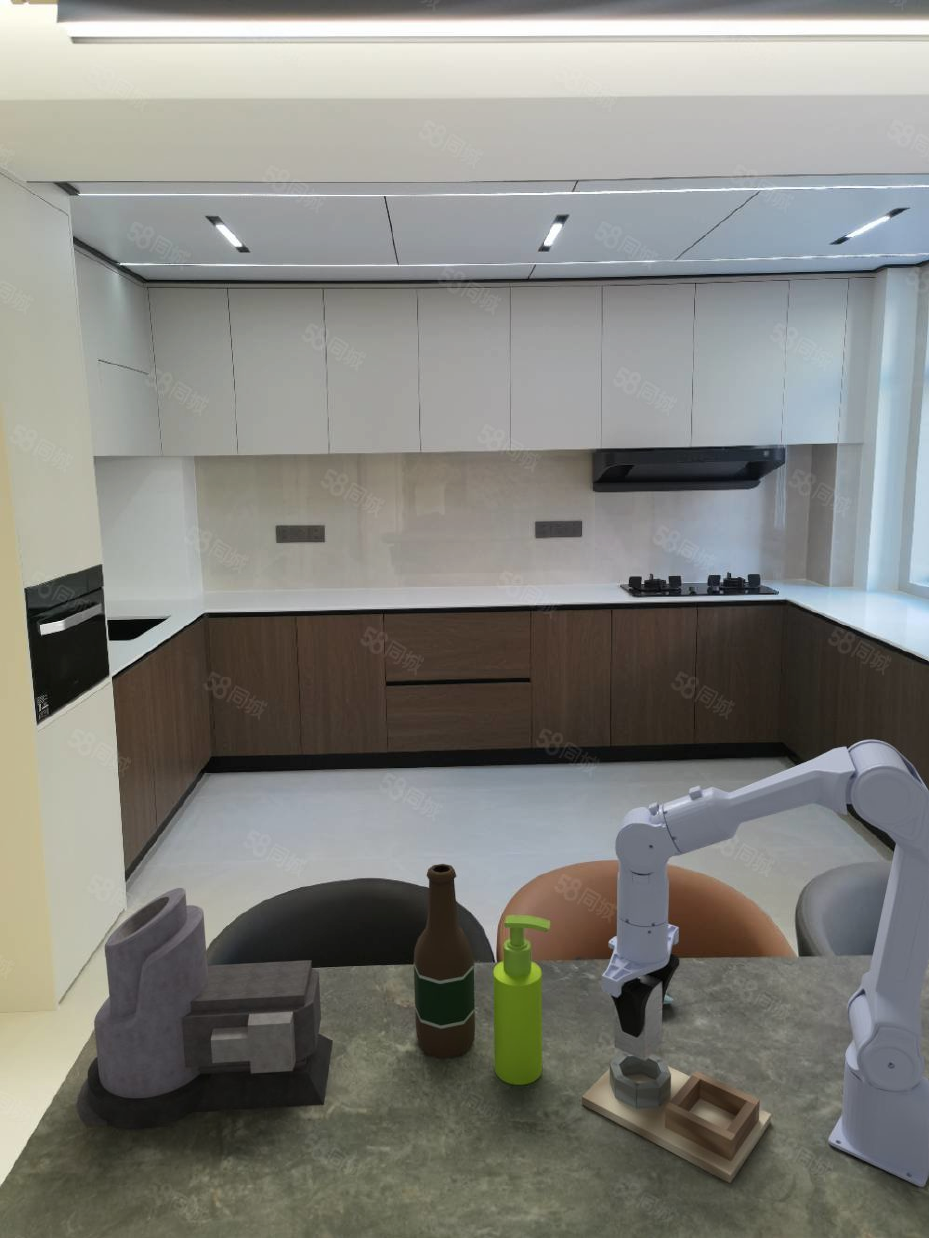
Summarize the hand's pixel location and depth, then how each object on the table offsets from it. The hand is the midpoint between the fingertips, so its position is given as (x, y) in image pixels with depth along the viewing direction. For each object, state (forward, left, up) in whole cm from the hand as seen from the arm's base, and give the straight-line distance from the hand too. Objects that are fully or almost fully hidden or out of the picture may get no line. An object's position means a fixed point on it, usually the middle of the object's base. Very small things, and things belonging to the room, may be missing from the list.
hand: (640, 1022), depth 99 cm
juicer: (+43, +31, -10) cm, 54 cm away
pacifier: (+8, -17, -10) cm, 22 cm away
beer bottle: (+25, +7, -10) cm, 27 cm away
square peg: (0, 0, -3) cm, 3 cm away
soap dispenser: (+14, +5, -10) cm, 17 cm away
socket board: (-4, 0, -9) cm, 10 cm away
